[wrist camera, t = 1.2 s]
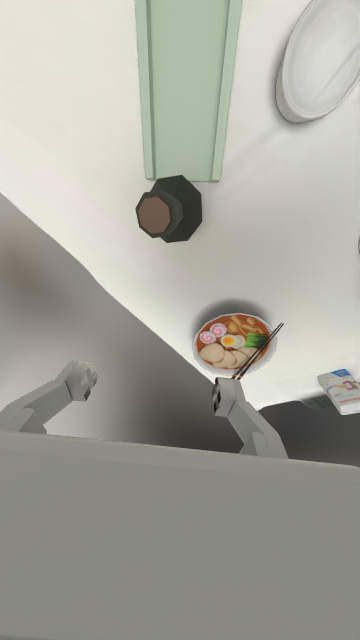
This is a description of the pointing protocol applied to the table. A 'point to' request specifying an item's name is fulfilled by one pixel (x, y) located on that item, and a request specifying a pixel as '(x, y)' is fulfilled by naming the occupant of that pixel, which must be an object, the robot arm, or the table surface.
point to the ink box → (342, 391)
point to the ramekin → (320, 60)
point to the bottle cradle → (185, 84)
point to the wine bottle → (170, 209)
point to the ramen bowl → (234, 344)
